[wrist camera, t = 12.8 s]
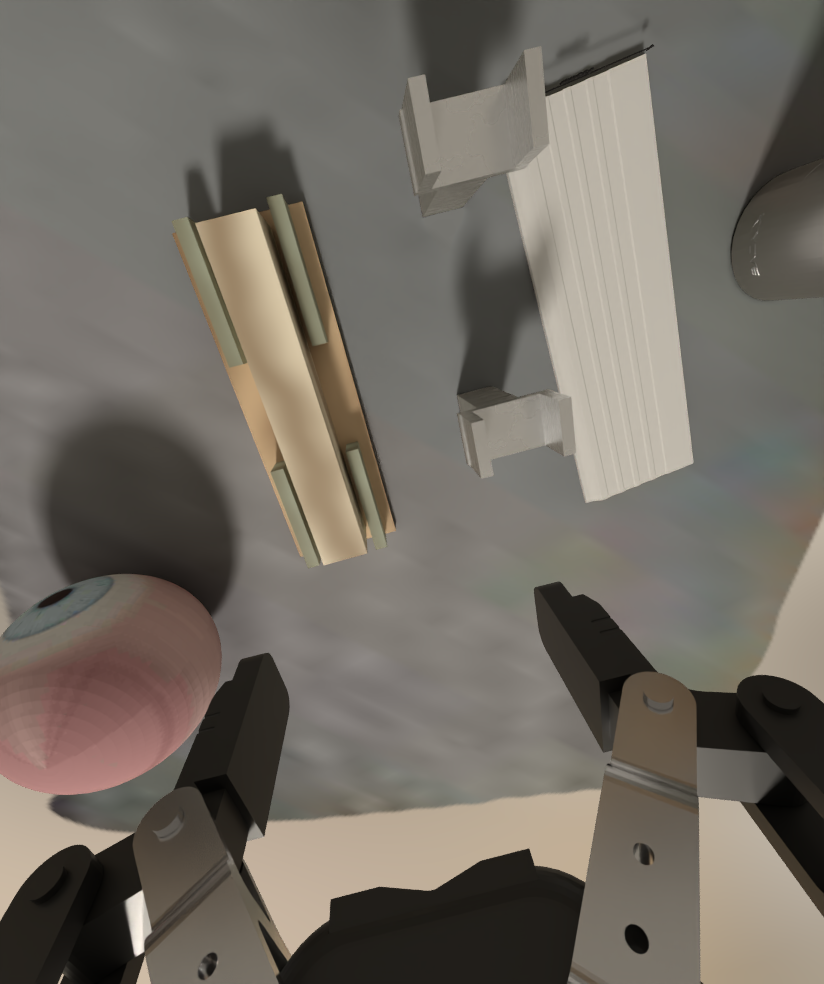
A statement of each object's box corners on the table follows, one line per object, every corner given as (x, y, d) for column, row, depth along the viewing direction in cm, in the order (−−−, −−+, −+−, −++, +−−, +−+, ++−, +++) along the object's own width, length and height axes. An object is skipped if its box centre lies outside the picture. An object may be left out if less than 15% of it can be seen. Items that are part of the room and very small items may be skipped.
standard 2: (509, 377, 35) (572, 396, 25) (515, 418, 36) (577, 452, 26) (436, 396, 35) (469, 423, 24) (445, 437, 36) (479, 479, 26)
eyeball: (187, 515, 36) (80, 633, 22) (269, 641, 41) (225, 798, 28) (28, 578, 36) (-178, 733, 22) (131, 694, 42) (19, 876, 28)
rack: (303, 203, 29) (297, 189, 26) (395, 527, 39) (398, 543, 36) (175, 235, 28) (155, 224, 26) (301, 553, 38) (296, 571, 35)
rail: (270, 226, 28) (255, 208, 24) (366, 528, 38) (367, 553, 33) (219, 239, 28) (195, 223, 24) (327, 538, 37) (323, 565, 33)
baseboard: (567, 505, 41) (681, 458, 41) (582, 517, 38) (705, 467, 38) (471, 134, 29) (631, 65, 29) (483, 114, 26) (660, 37, 26)
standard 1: (477, 146, 29) (543, 45, 19) (485, 206, 30) (551, 143, 20) (388, 168, 29) (405, 78, 18) (400, 227, 30) (423, 174, 20)
